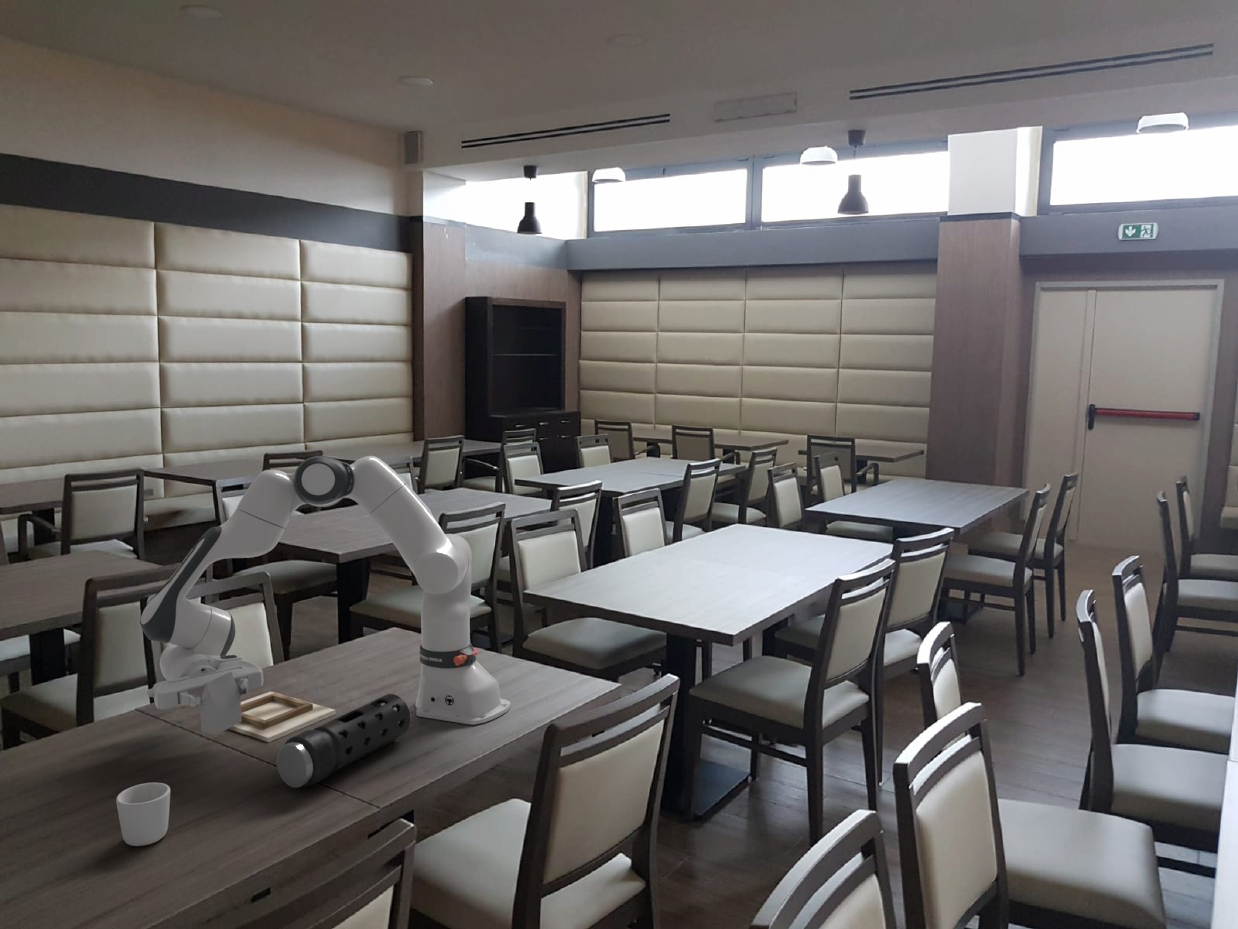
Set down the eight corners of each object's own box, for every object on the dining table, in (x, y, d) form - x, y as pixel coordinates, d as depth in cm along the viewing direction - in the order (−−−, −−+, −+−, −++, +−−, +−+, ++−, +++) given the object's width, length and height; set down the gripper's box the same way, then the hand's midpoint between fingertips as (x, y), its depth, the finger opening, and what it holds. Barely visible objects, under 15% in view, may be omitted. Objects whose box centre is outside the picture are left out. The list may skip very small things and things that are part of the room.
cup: (138, 819, 158) (136, 775, 157) (186, 817, 158) (184, 773, 157) (109, 852, 147) (106, 805, 146) (160, 850, 148) (158, 803, 147)
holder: (335, 714, 205) (335, 704, 205) (268, 742, 190) (268, 731, 189) (270, 695, 216) (270, 686, 216) (202, 720, 201) (202, 710, 201)
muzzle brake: (412, 744, 190) (411, 696, 189) (311, 801, 165) (309, 746, 164) (377, 735, 194) (376, 688, 193) (273, 789, 169) (271, 736, 168)
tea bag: (241, 721, 181) (238, 672, 180) (216, 734, 174) (213, 684, 173) (226, 719, 182) (223, 670, 181) (201, 732, 175) (198, 682, 174)
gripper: (142, 675, 180) (162, 694, 170) (248, 652, 193) (272, 669, 183) (145, 705, 181) (164, 726, 170) (249, 681, 194) (273, 699, 184)
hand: (221, 696), depth 177 cm, fingers closed on tea bag, 8 cm apart
